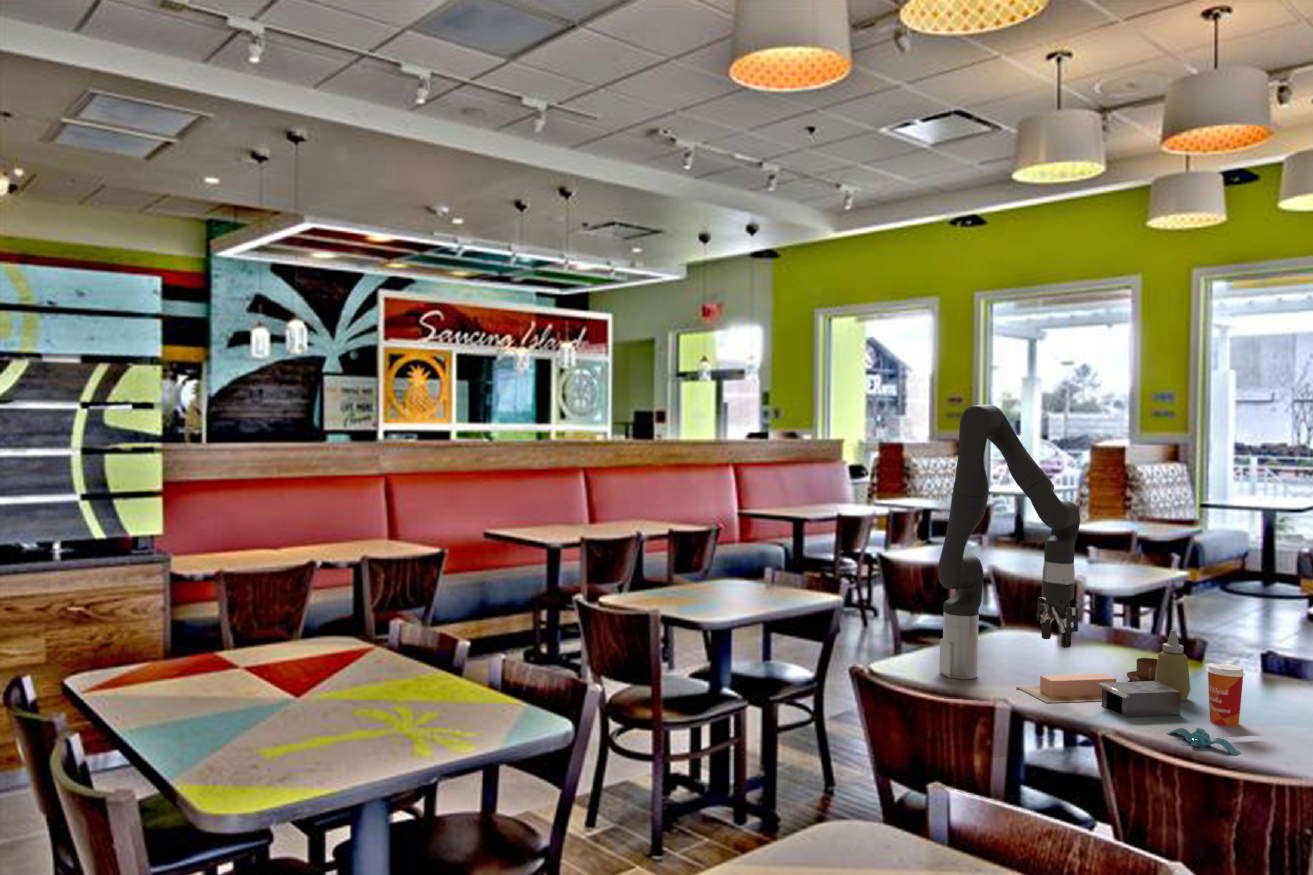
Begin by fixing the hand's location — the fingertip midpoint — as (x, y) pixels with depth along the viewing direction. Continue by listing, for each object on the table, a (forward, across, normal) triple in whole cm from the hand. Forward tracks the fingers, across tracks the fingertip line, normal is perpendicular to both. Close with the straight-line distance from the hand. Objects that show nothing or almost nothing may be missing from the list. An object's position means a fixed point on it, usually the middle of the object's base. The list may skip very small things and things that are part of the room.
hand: (1055, 642), depth 243 cm
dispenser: (+14, +16, +13) cm, 24 cm away
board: (+14, +1, +6) cm, 15 cm away
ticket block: (+13, +1, +6) cm, 14 cm away
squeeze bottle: (+14, +7, +28) cm, 32 cm away
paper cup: (+14, +27, +26) cm, 40 cm away
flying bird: (+14, +38, +10) cm, 42 cm away
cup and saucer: (+14, -10, +35) cm, 39 cm away
